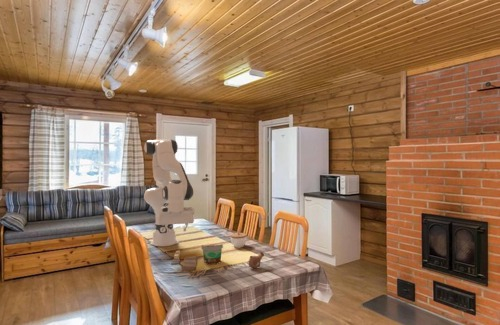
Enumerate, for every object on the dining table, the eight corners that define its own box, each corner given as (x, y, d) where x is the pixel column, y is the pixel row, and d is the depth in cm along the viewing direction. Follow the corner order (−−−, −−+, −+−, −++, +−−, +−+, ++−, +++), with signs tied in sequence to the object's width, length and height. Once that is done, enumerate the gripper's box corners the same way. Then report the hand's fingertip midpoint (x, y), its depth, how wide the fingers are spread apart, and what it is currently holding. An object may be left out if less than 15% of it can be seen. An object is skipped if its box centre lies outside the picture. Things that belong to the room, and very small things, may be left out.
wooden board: (184, 258, 181) (184, 257, 181) (196, 258, 182) (196, 256, 182) (181, 271, 161) (181, 269, 161) (195, 270, 162) (195, 268, 162)
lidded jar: (227, 247, 203) (227, 233, 202) (235, 243, 212) (235, 229, 212) (241, 249, 198) (241, 234, 197) (249, 245, 207) (249, 231, 207)
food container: (202, 266, 168) (202, 247, 168) (201, 262, 174) (201, 244, 174) (225, 263, 172) (224, 245, 171) (223, 260, 178) (222, 242, 177)
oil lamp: (262, 265, 168) (262, 250, 168) (265, 267, 165) (265, 252, 165) (247, 267, 165) (247, 253, 165) (250, 270, 161) (250, 255, 161)
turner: (174, 255, 187) (174, 250, 187) (181, 255, 187) (181, 250, 187) (171, 264, 171) (170, 259, 171) (179, 264, 172) (179, 259, 172)
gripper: (194, 206, 185) (194, 229, 185) (159, 207, 182) (159, 231, 183) (193, 208, 179) (194, 231, 179) (157, 209, 176) (158, 233, 176)
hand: (176, 231), depth 181 cm, fingers open, 8 cm apart
